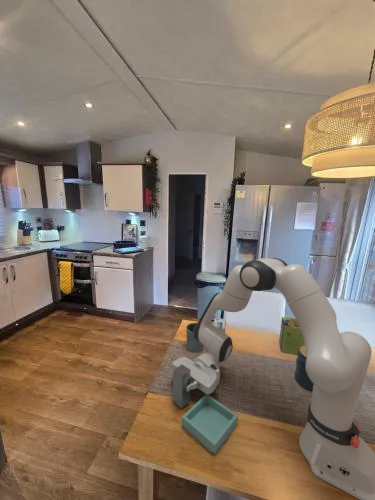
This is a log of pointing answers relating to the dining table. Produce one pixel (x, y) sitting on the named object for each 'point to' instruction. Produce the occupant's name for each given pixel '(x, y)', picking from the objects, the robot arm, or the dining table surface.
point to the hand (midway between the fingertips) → (180, 384)
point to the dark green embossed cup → (192, 339)
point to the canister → (302, 370)
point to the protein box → (290, 336)
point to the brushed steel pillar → (181, 385)
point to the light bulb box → (220, 324)
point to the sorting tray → (210, 423)
